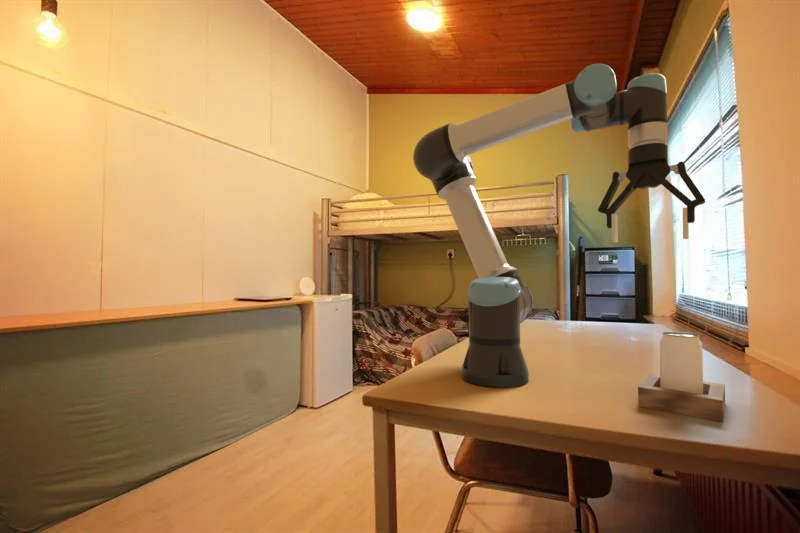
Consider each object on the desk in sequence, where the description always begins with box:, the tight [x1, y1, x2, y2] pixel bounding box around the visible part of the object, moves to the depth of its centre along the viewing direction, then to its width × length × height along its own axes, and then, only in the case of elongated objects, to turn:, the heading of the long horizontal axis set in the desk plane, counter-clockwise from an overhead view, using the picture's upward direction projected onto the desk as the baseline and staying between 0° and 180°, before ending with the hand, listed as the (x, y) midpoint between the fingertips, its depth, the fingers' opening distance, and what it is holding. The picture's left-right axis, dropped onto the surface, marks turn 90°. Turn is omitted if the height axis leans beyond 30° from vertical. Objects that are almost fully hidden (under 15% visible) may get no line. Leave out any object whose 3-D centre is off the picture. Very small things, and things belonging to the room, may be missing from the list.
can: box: [659, 331, 704, 394], centre depth 73 cm, size 6×6×12 cm
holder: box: [637, 373, 726, 423], centre depth 72 cm, size 12×12×4 cm
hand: (648, 240), depth 88 cm, fingers open, 13 cm apart
